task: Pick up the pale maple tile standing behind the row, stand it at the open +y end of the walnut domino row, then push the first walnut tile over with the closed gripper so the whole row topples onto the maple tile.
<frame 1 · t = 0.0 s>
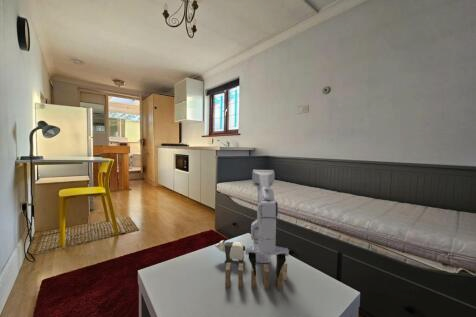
hand: (266, 274, 68), 10 cm above the table, fingers open, 7 cm apart
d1: (227, 283, 79), on the table
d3: (253, 284, 78), on the table
giant panda: (231, 260, 94), on the table
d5: (278, 286, 77), on the table
maple tile: (283, 276, 83), on the table
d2: (240, 283, 78), on the table
d4: (265, 285, 78), on the table
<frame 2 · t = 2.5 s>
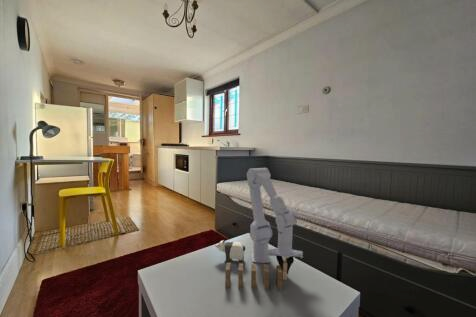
hand: (283, 272, 83), 2 cm above the table, fingers closed on maple tile, 2 cm apart
maple tile: (283, 276, 83), on the table, touching gripper
everything else where it was.
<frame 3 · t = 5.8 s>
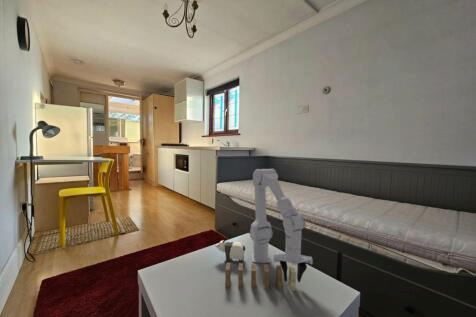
hand: (292, 280, 77), 3 cm above the table, fingers open, 4 cm apart
maple tile: (291, 286, 77), on the table
everything else where it was.
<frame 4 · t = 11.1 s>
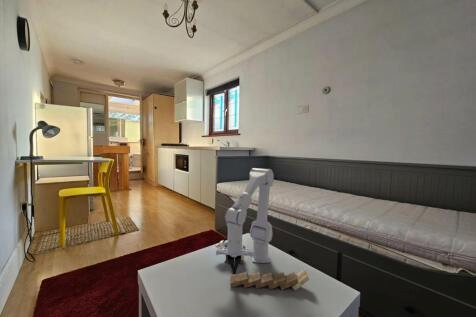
hand: (234, 272, 78), 4 cm above the table, fingers closed
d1: (230, 281, 78), point 1 cm above the table, tilted 72°, touching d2
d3: (255, 282, 78), point 1 cm above the table, tilted 70°, touching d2, d4
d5: (280, 284, 77), point 1 cm above the table, tilted 62°, touching d4
maple tile: (292, 285, 77), point 1 cm above the table, tilted 49°
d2: (243, 282, 78), point 1 cm above the table, tilted 70°, touching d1, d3
d4: (268, 283, 78), point 1 cm above the table, tilted 66°, touching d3, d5
everything else where it was.
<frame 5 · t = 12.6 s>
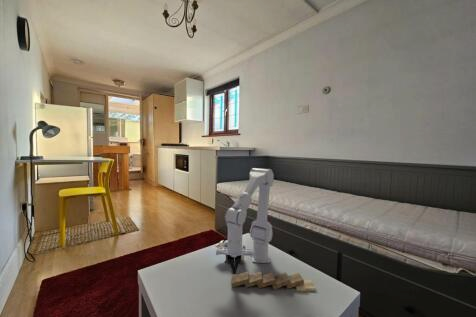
hand: (234, 272, 78), 4 cm above the table, fingers closed
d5: (284, 283, 78), point 1 cm above the table, tilted 77°, touching d4
maple tile: (295, 286, 77), on the table, tilted 90°
d4: (271, 283, 77), point 1 cm above the table, tilted 71°, touching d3, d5
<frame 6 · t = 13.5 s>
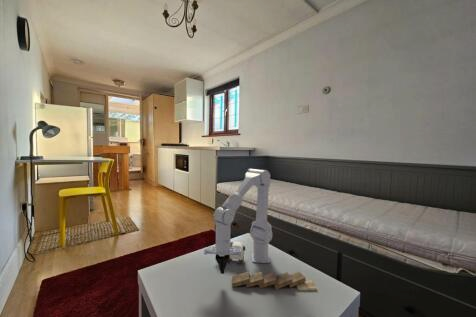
hand: (222, 272, 78), 4 cm above the table, fingers closed
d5: (287, 282, 78), point 1 cm above the table, tilted 78°, touching d4, maple tile
maple tile: (296, 286, 77), on the table, tilted 90°, touching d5
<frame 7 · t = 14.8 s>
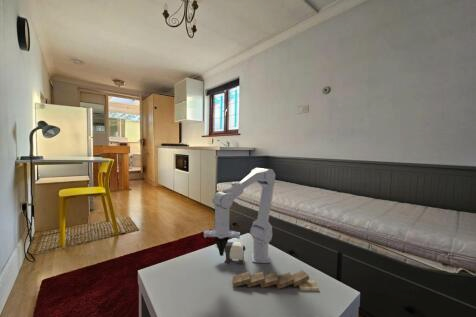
hand: (221, 254, 81), 10 cm above the table, fingers closed
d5: (291, 281, 79), point 1 cm above the table, tilted 75°, touching d4, maple tile
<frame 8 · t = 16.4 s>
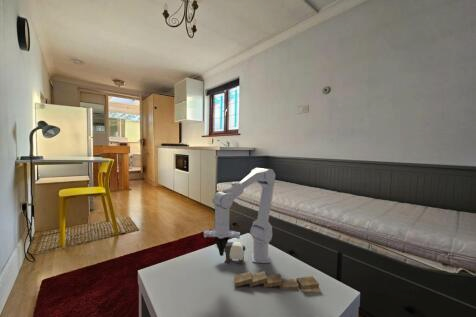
hand: (221, 254, 81), 10 cm above the table, fingers closed
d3: (263, 281, 79), point 1 cm above the table, tilted 79°, touching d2
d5: (299, 283, 76), point 2 cm above the table, tilted 90°, touching maple tile
d4: (278, 285, 78), on the table, tilted 90°
at the end: maple tile tilted 90°; maple tile inside the target area (1.4 cm from its centre), on the table; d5 tilted 90° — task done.
